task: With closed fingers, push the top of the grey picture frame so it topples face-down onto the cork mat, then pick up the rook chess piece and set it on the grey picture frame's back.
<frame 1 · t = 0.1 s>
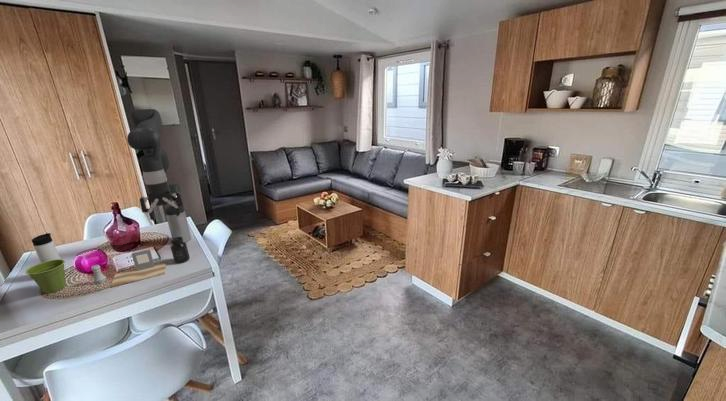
hand: (166, 218, 125), 29 cm above the table, fingers open, 8 cm apart
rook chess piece: (101, 281, 134), on the table
grey picture frame: (143, 259, 141), point 5 cm above the table, touching mat
supplement bottle: (182, 260, 150), on the table
mat: (140, 274, 138), on the table
travel mug: (57, 274, 141), on the table
plant pot: (55, 288, 130), on the table
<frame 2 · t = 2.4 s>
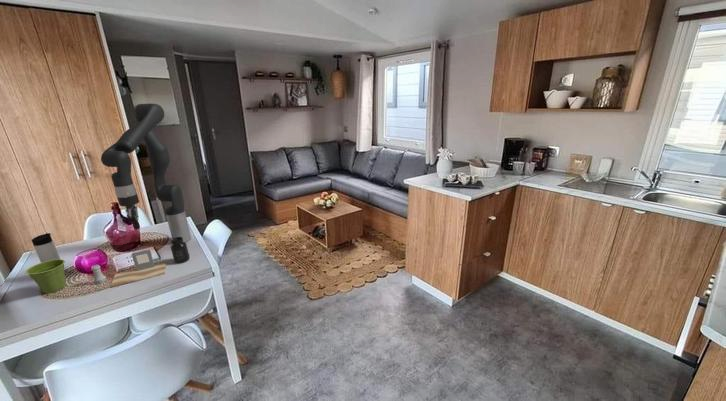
hand: (137, 228, 142), 19 cm above the table, fingers closed
nothing on the table moved.
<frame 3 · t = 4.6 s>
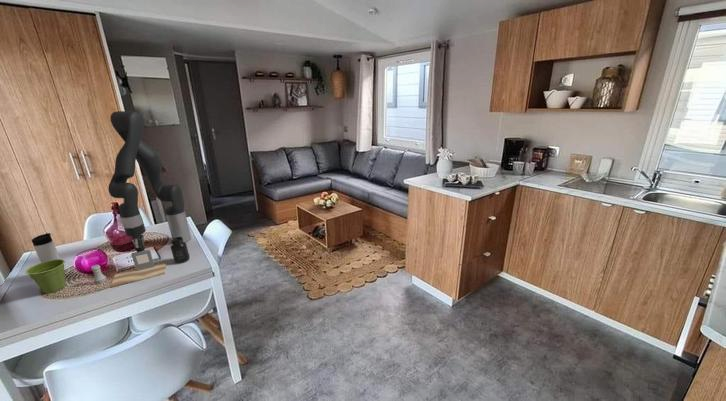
hand: (143, 257, 143), 5 cm above the table, fingers closed
grey picture frame: (143, 260, 141), point 5 cm above the table, touching gripper, mat
everything else where it was.
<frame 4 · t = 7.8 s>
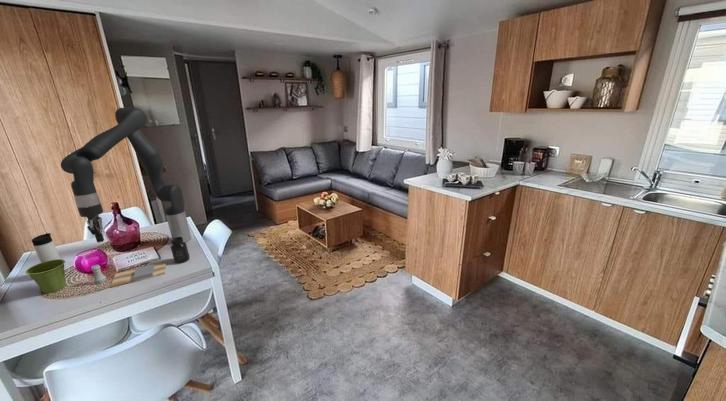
hand: (100, 241, 130), 19 cm above the table, fingers closed
grey picture frame: (144, 272, 137), point 1 cm above the table, tilted 90°, touching mat
everything else where it was.
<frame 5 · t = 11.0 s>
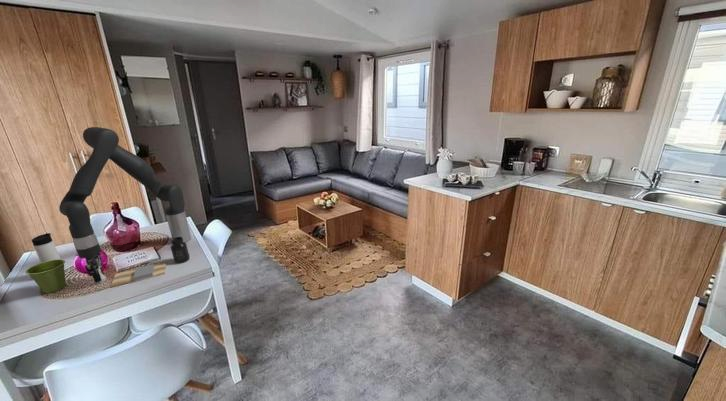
hand: (99, 278, 133), 2 cm above the table, fingers closed on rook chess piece, 4 cm apart
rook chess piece: (101, 281, 134), on the table, touching gripper
everything else where it was.
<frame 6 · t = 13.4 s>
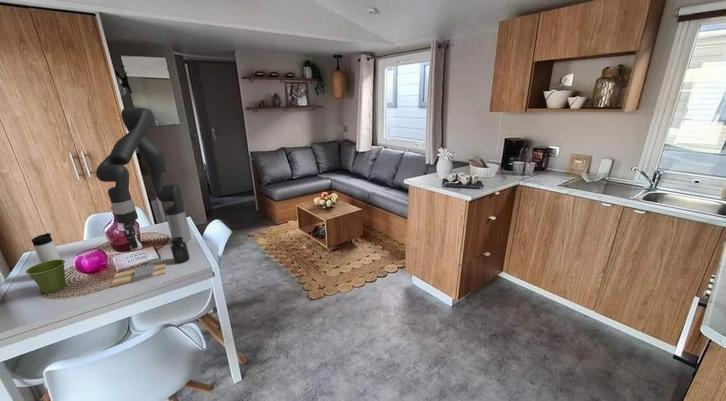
hand: (135, 245, 133), 15 cm above the table, fingers closed on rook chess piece, 4 cm apart
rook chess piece: (137, 248, 134), point 13 cm above the table, touching gripper
everything else where it was.
when the fingers open (5 cm above the table, at t = 15.6 s): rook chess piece stays where it is, resting on grey picture frame.
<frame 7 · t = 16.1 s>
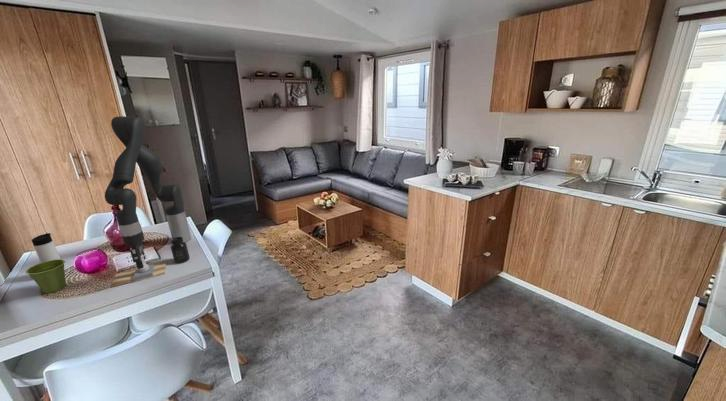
hand: (141, 264, 136), 6 cm above the table, fingers open, 8 cm apart
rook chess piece: (144, 270, 138), point 2 cm above the table, touching grey picture frame
grey picture frame: (144, 272, 137), point 1 cm above the table, tilted 90°, touching mat, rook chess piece
everything else where it was.
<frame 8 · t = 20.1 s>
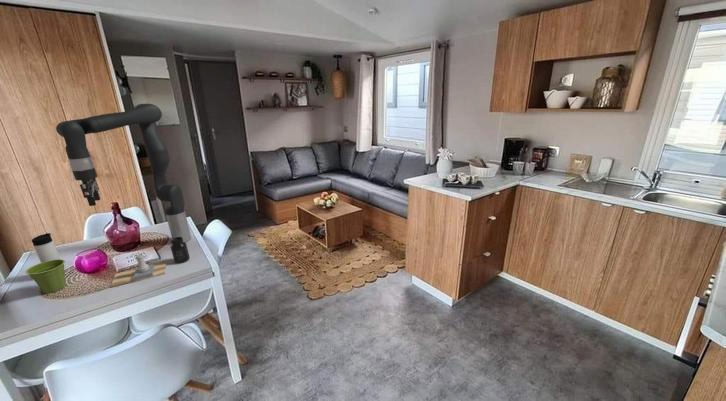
hand: (95, 202, 136), 33 cm above the table, fingers open, 8 cm apart
nothing on the table moved.
at the end: grey picture frame tilted 90°; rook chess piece inside the target area on the grey picture frame (0.3 cm from its centre), point 0.6 cm above the grey picture frame's base; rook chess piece tilted 0° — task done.
